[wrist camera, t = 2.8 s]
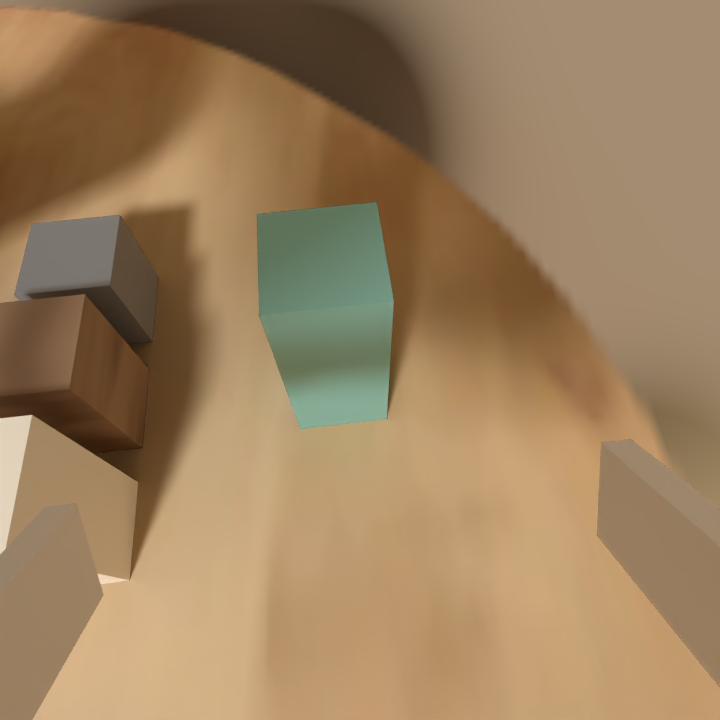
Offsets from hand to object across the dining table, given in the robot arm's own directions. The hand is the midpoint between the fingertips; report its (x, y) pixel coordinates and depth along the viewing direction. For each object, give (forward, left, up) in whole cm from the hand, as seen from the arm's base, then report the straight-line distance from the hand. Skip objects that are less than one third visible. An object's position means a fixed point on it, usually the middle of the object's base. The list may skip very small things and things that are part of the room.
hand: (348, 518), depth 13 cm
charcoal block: (-22, +2, -15) cm, 27 cm away
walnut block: (-17, -3, -15) cm, 23 cm away
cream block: (-12, -8, -15) cm, 21 cm away
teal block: (-8, +7, -15) cm, 18 cm away
